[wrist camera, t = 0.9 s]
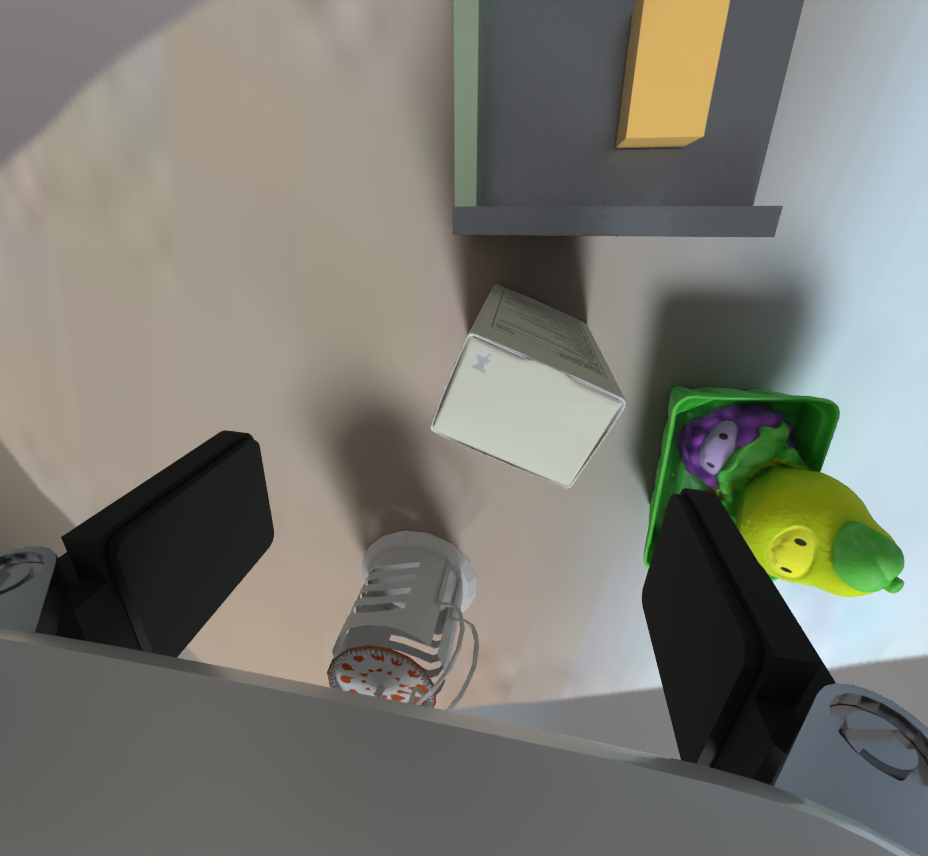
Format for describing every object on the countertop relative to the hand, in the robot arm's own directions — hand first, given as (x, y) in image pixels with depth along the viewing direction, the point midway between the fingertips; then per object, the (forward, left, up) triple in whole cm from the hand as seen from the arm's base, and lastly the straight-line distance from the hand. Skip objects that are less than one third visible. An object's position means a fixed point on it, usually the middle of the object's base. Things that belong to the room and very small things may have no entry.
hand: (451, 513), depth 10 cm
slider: (-6, -12, -17) cm, 22 cm away
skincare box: (-1, 0, -19) cm, 19 cm away
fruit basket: (-13, +7, -19) cm, 25 cm away
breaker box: (-5, -12, -19) cm, 23 cm away
